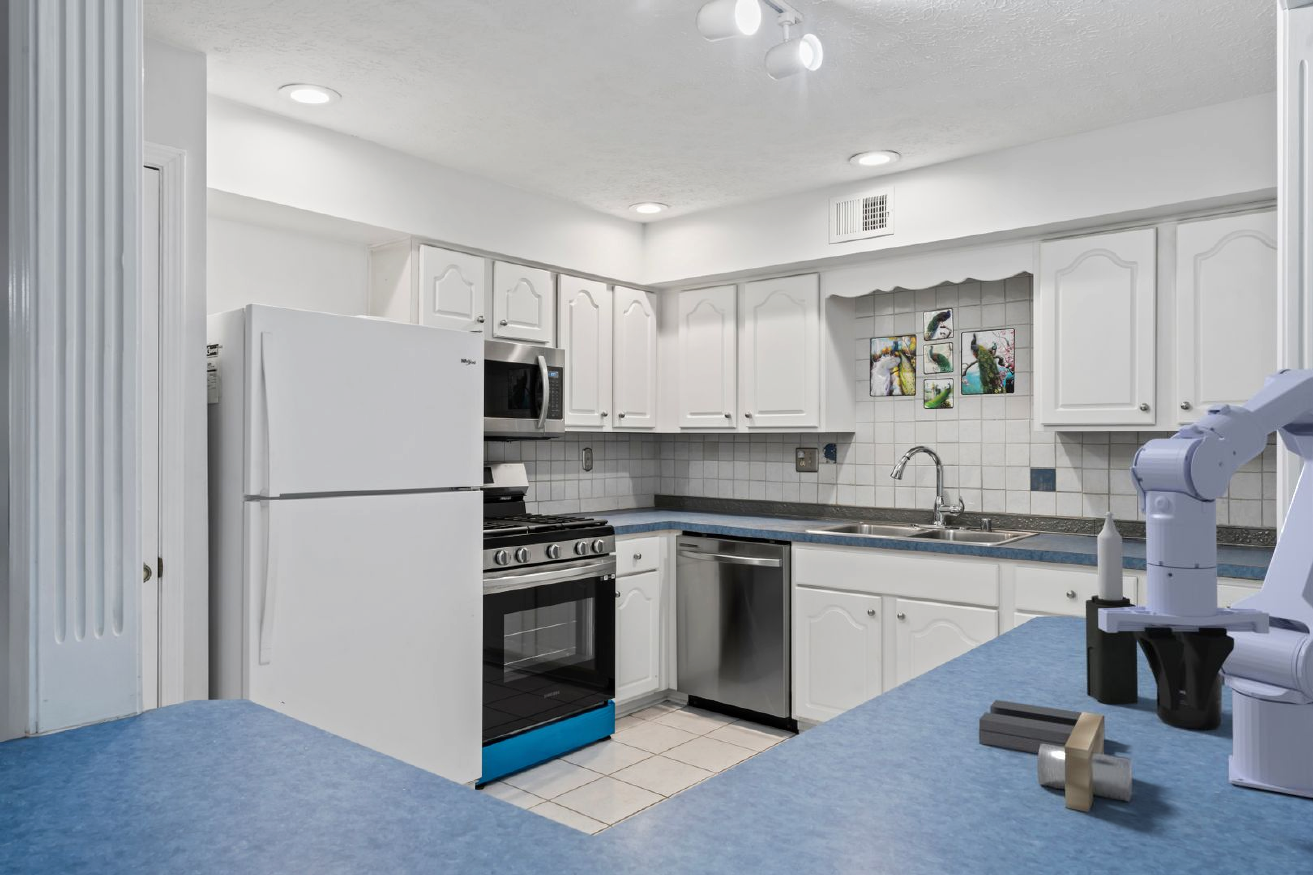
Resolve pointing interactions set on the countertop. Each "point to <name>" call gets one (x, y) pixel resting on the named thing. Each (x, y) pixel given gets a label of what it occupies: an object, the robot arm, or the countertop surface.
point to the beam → (1082, 760)
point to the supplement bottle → (1188, 714)
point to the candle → (1110, 651)
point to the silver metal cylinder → (1107, 771)
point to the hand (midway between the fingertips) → (1183, 707)
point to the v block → (1026, 726)
